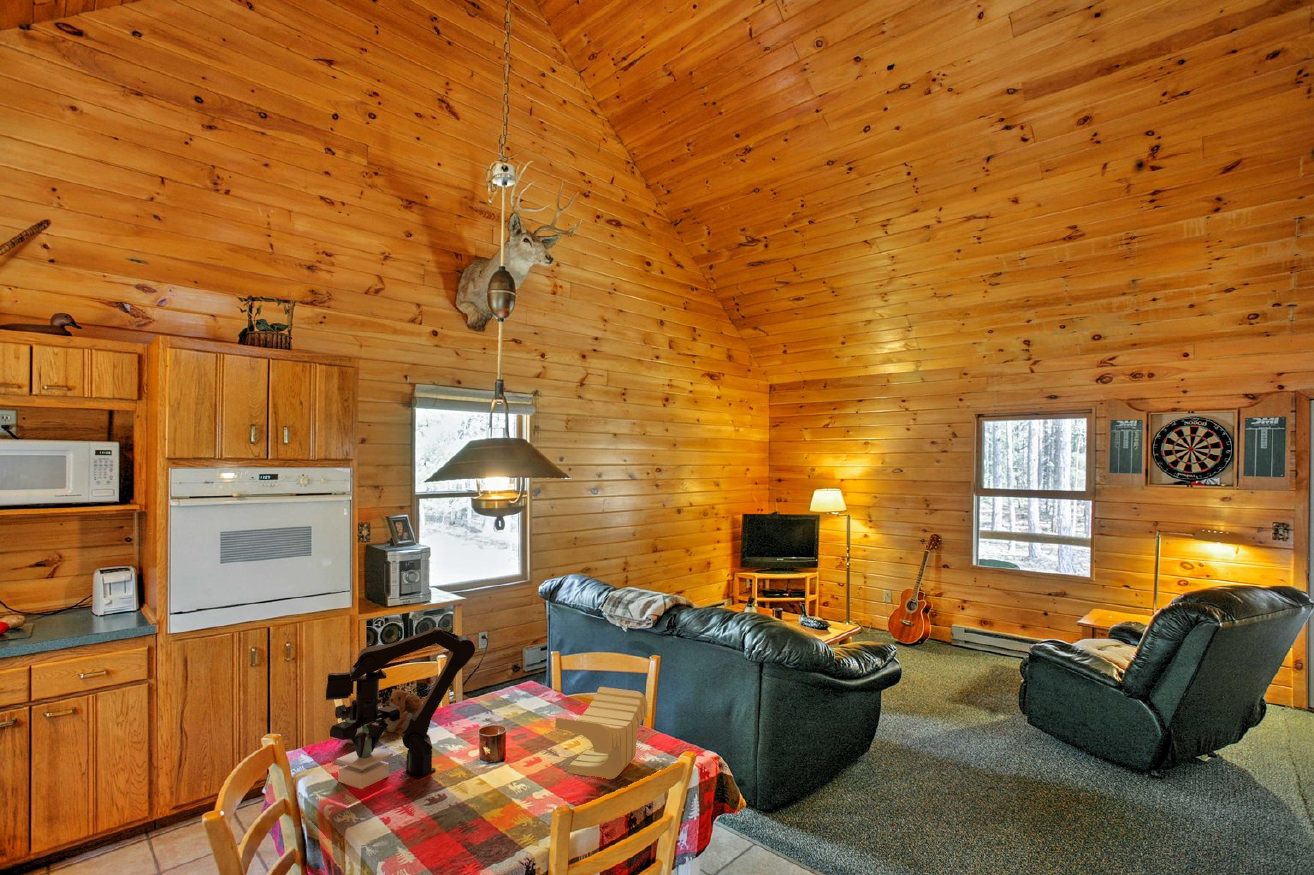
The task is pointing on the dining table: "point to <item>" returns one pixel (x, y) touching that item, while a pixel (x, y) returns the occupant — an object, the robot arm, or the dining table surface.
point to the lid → (365, 756)
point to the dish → (363, 774)
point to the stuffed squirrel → (402, 708)
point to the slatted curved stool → (608, 732)
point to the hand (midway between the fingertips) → (365, 754)
